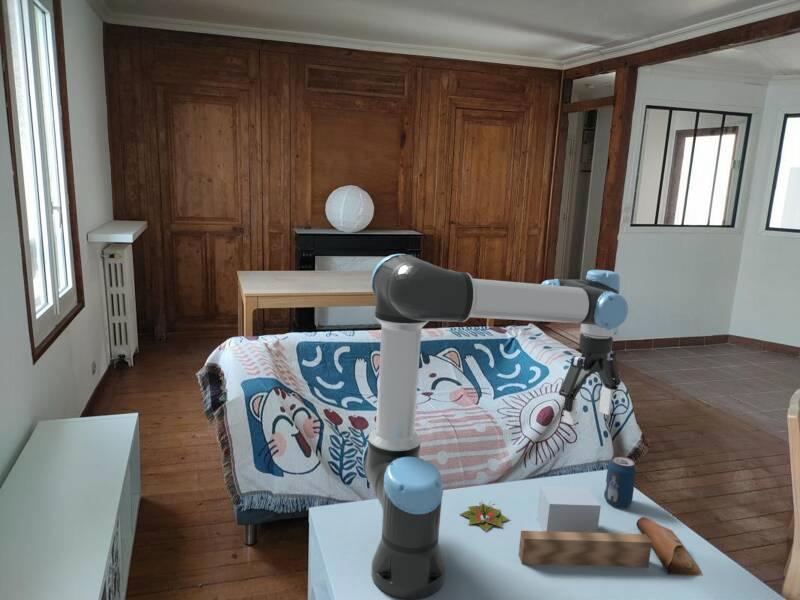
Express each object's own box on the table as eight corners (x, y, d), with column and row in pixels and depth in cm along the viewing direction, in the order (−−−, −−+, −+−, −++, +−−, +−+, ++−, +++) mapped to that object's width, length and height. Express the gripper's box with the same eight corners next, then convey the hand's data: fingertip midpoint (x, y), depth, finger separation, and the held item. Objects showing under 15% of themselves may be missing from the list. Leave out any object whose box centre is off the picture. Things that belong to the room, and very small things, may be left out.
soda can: (630, 499, 154) (636, 457, 152) (632, 512, 147) (638, 469, 145) (603, 493, 156) (608, 452, 154) (603, 506, 149) (609, 463, 147)
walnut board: (521, 563, 124) (524, 538, 123) (518, 555, 127) (521, 530, 126) (648, 567, 125) (652, 542, 124) (642, 558, 128) (645, 534, 127)
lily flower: (450, 515, 142) (451, 498, 141) (483, 500, 150) (484, 484, 149) (485, 539, 133) (487, 522, 132) (519, 523, 140) (521, 506, 140)
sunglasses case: (706, 576, 123) (694, 551, 122) (675, 589, 124) (663, 565, 123) (669, 528, 141) (658, 506, 140) (643, 540, 142) (632, 518, 140)
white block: (545, 539, 134) (549, 503, 132) (536, 519, 142) (540, 486, 140) (596, 540, 134) (600, 505, 133) (584, 521, 142) (588, 487, 141)
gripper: (575, 344, 127) (565, 433, 131) (641, 333, 141) (630, 414, 145) (549, 336, 133) (540, 422, 138) (615, 326, 147) (605, 404, 152)
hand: (587, 418), depth 142 cm, fingers open, 13 cm apart
